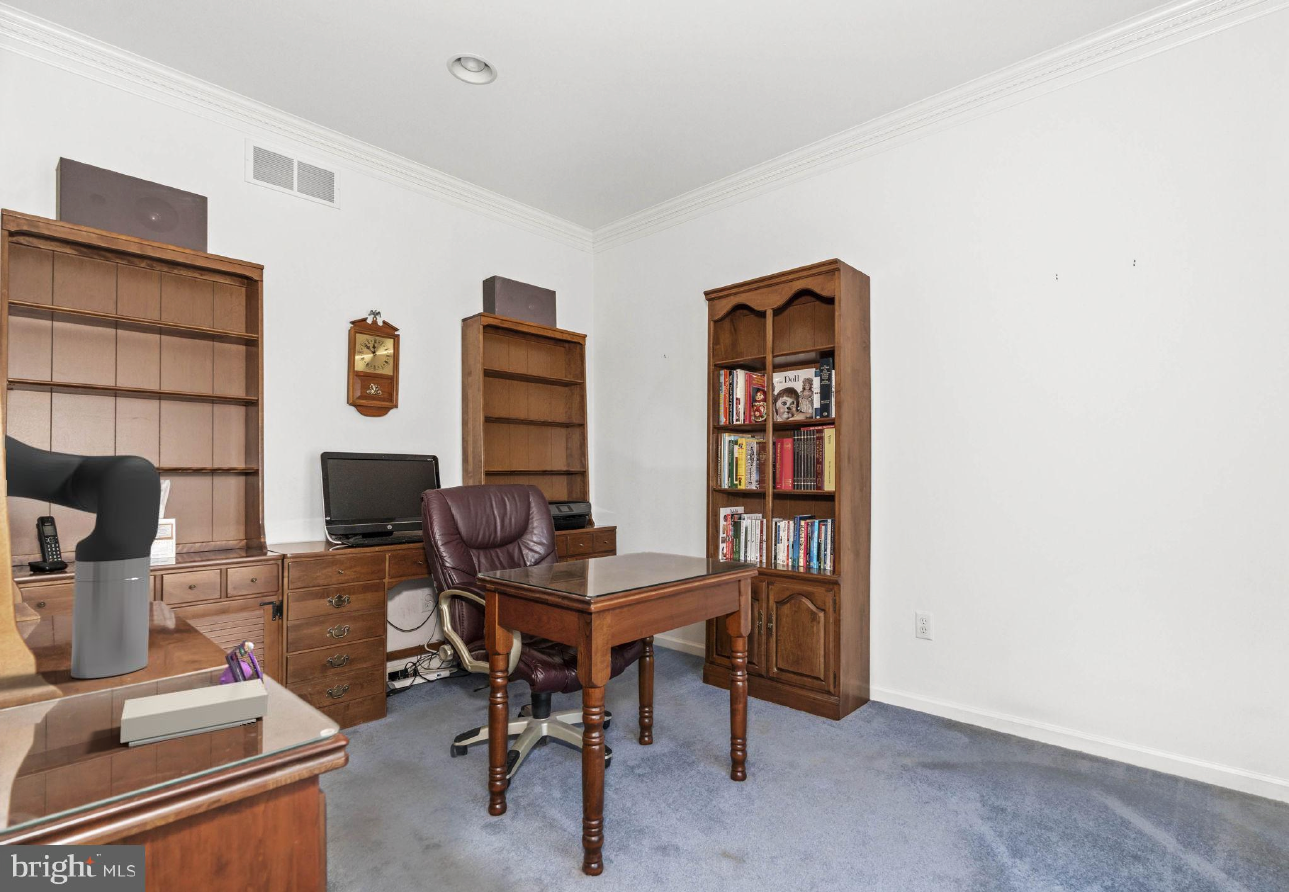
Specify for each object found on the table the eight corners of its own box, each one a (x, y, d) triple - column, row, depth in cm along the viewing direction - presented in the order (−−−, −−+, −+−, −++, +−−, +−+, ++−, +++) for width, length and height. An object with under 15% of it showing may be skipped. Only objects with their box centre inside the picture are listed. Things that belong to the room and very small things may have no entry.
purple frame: (234, 653, 86) (252, 637, 95) (190, 670, 84) (212, 652, 93) (252, 700, 86) (269, 680, 95) (209, 718, 85) (230, 696, 93)
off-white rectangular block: (125, 700, 79) (260, 678, 87) (124, 722, 79) (260, 699, 87) (121, 719, 72) (267, 694, 80) (120, 744, 72) (267, 716, 80)
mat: (133, 722, 79) (133, 720, 79) (248, 702, 86) (248, 700, 86) (128, 746, 72) (129, 744, 72) (255, 722, 79) (255, 720, 79)
